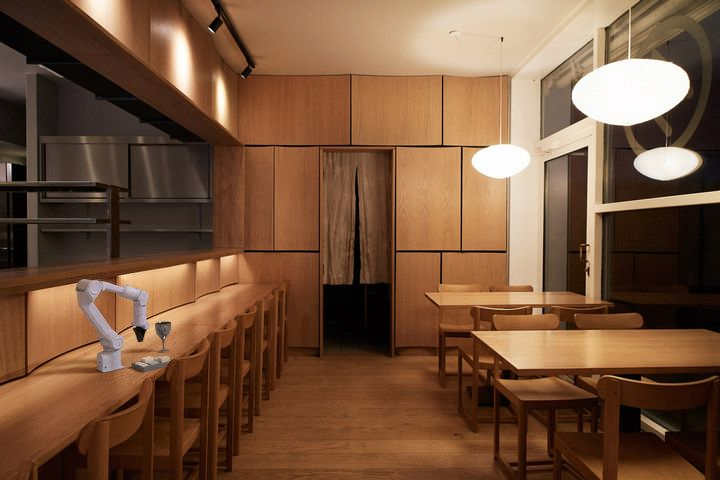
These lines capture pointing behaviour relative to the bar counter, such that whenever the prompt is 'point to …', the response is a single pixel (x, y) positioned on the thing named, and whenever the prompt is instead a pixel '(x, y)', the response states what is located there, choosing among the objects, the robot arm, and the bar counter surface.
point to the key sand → (163, 359)
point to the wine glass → (163, 333)
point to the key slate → (152, 362)
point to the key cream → (147, 359)
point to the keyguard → (148, 366)
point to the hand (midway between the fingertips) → (140, 341)
